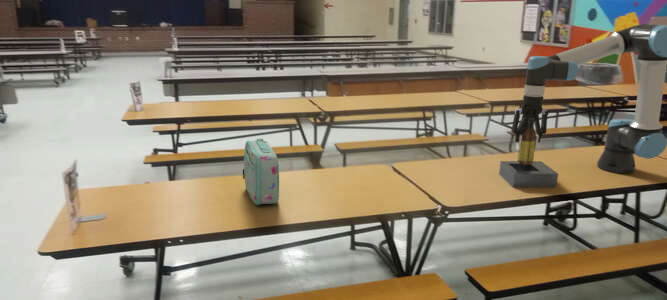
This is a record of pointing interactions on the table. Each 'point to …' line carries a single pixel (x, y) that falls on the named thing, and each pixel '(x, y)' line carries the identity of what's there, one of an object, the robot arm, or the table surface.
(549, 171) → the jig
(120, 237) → the table surface
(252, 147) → the lunch box
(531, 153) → the sauce bottle
